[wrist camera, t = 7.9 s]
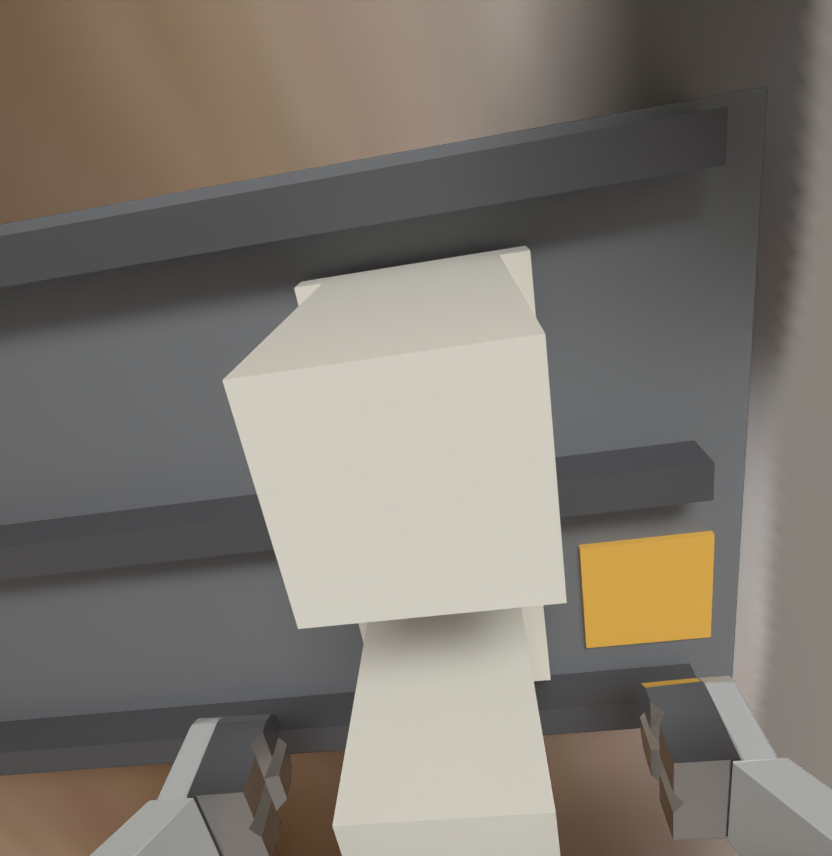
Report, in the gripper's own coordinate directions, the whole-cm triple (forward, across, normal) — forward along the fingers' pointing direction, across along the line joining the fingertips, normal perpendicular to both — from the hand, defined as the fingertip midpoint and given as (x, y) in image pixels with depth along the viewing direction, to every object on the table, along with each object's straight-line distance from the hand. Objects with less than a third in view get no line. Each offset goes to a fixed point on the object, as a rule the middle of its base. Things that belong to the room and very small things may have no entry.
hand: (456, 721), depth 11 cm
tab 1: (+3, 0, -6) cm, 7 cm away
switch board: (+6, +8, -3) cm, 10 cm away
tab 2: (+3, 0, 0) cm, 3 cm away
